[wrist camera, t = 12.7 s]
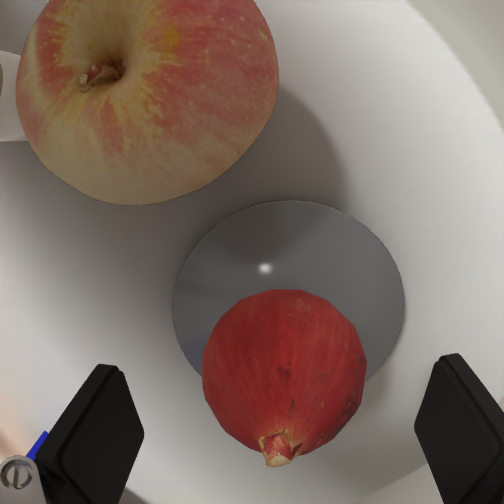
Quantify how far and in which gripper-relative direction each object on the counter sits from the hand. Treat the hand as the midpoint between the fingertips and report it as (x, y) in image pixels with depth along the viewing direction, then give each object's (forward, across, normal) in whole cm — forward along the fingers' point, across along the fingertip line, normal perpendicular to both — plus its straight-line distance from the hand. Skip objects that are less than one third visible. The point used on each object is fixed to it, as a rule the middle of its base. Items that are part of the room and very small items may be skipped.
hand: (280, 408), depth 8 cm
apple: (+8, +4, -10) cm, 13 cm away
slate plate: (+7, -1, +1) cm, 7 cm away
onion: (+6, 0, 0) cm, 6 cm away
